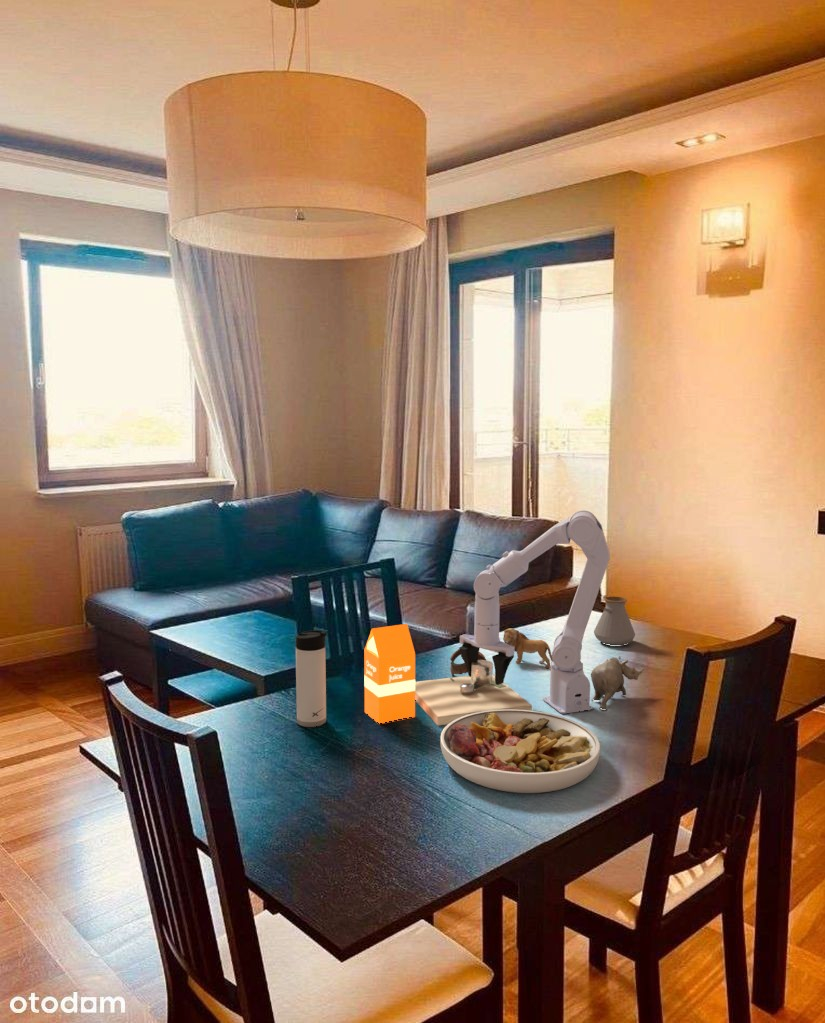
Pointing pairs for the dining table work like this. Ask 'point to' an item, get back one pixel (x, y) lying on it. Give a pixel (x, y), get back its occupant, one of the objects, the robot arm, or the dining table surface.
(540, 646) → the lion figurine
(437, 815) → the dining table surface
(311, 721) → the travel mug
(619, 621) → the coffee pot
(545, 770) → the bowl
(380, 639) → the orange juice
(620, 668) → the rhino figurine
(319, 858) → the dining table surface
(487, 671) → the beige shiny cylinders
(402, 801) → the dining table surface
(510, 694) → the wooden board
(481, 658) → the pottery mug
